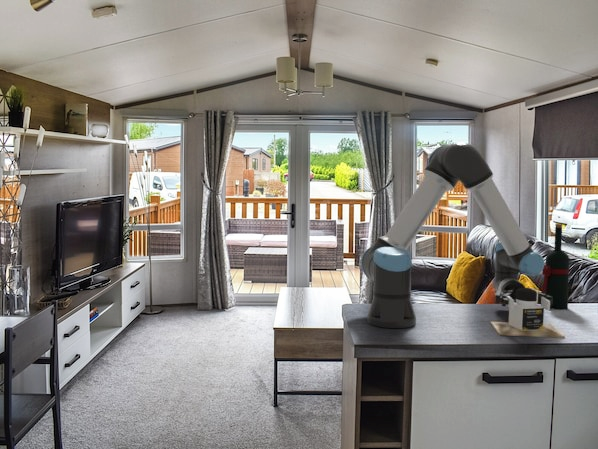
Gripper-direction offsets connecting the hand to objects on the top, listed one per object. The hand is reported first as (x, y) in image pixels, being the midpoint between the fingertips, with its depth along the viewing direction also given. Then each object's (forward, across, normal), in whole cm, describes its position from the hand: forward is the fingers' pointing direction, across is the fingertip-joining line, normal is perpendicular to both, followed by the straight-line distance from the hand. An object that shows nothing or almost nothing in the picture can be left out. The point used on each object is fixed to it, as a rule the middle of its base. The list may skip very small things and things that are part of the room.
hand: (530, 305), depth 166 cm
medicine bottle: (-5, 0, -8) cm, 9 cm away
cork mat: (-4, 0, -9) cm, 10 cm away
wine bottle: (-39, -18, -9) cm, 44 cm away
